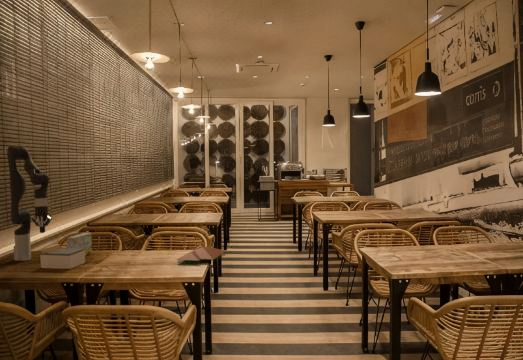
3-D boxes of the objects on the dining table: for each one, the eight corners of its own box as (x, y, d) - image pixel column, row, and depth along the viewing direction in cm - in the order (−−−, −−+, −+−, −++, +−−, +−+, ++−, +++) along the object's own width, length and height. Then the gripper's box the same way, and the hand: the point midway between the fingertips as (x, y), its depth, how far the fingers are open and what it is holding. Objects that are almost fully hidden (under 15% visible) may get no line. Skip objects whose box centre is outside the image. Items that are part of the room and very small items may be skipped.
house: (228, 254, 314) (227, 242, 314) (210, 266, 283) (210, 253, 282) (196, 253, 320) (196, 241, 320) (176, 264, 288) (175, 251, 288)
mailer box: (40, 267, 285) (40, 255, 284) (56, 261, 301) (56, 249, 300) (70, 268, 281) (70, 255, 281) (85, 262, 297) (84, 250, 297)
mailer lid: (40, 254, 284) (40, 248, 284) (56, 249, 300) (55, 243, 300) (70, 255, 281) (69, 248, 281) (84, 249, 297) (84, 243, 296)
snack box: (74, 260, 304) (73, 237, 303) (67, 260, 305) (66, 237, 304) (92, 253, 325) (92, 232, 324) (85, 253, 326) (84, 232, 325)
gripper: (27, 206, 289) (29, 233, 290) (47, 205, 286) (48, 233, 287) (35, 204, 296) (36, 231, 297) (54, 204, 294) (55, 231, 295)
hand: (42, 232), depth 292 cm, fingers closed
